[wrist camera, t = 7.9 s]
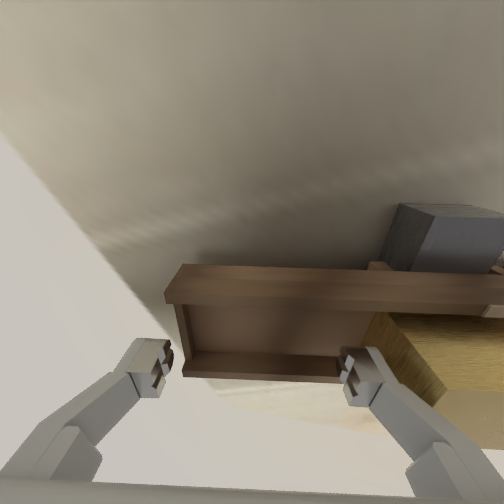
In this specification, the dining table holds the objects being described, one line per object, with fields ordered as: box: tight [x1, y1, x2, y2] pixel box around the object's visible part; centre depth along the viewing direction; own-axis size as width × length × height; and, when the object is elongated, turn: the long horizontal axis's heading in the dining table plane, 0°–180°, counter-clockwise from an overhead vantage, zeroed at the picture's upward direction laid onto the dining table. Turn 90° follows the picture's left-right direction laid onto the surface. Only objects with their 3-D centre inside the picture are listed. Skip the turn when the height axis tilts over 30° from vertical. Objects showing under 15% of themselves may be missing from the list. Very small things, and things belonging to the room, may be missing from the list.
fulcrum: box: [379, 203, 504, 274], centre depth 13 cm, size 4×12×2 cm, turn 179°
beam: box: [164, 261, 504, 384], centre depth 11 cm, size 28×6×4 cm, turn 88°
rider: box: [360, 312, 504, 450], centre depth 9 cm, size 6×4×4 cm, turn 88°
